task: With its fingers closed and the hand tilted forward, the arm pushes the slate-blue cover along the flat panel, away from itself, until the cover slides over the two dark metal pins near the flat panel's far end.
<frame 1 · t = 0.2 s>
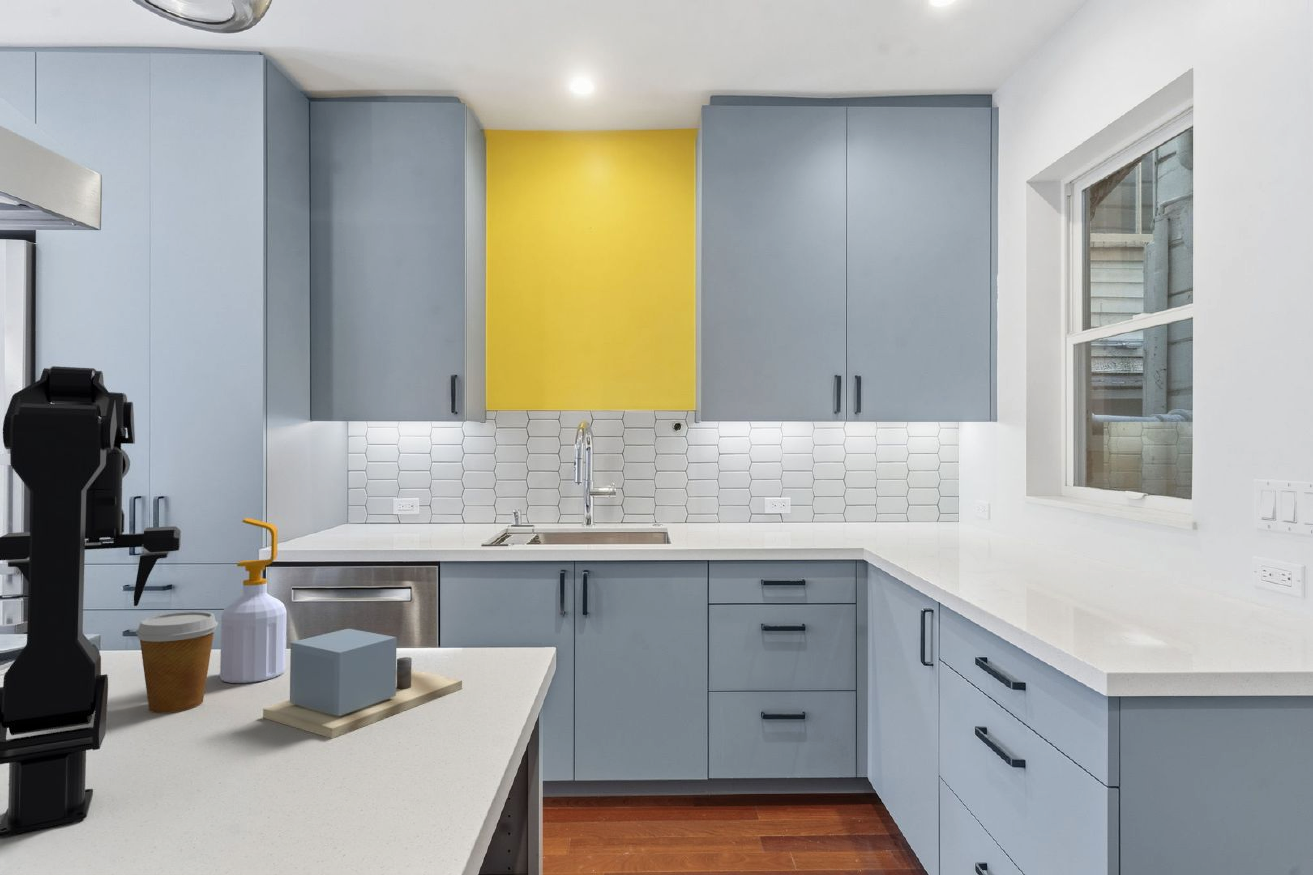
hand: (92, 609, 95), 15 cm above the countertop, tool pointing down, fingers open, 9 cm apart
flat panel: (368, 702, 103), on the countertop
soap bottle: (253, 676, 115), on the countertop
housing: (343, 669, 99), point 6 cm above the countertop, slide at 0.0 cm
disposable coffee cup: (176, 706, 101), on the countertop
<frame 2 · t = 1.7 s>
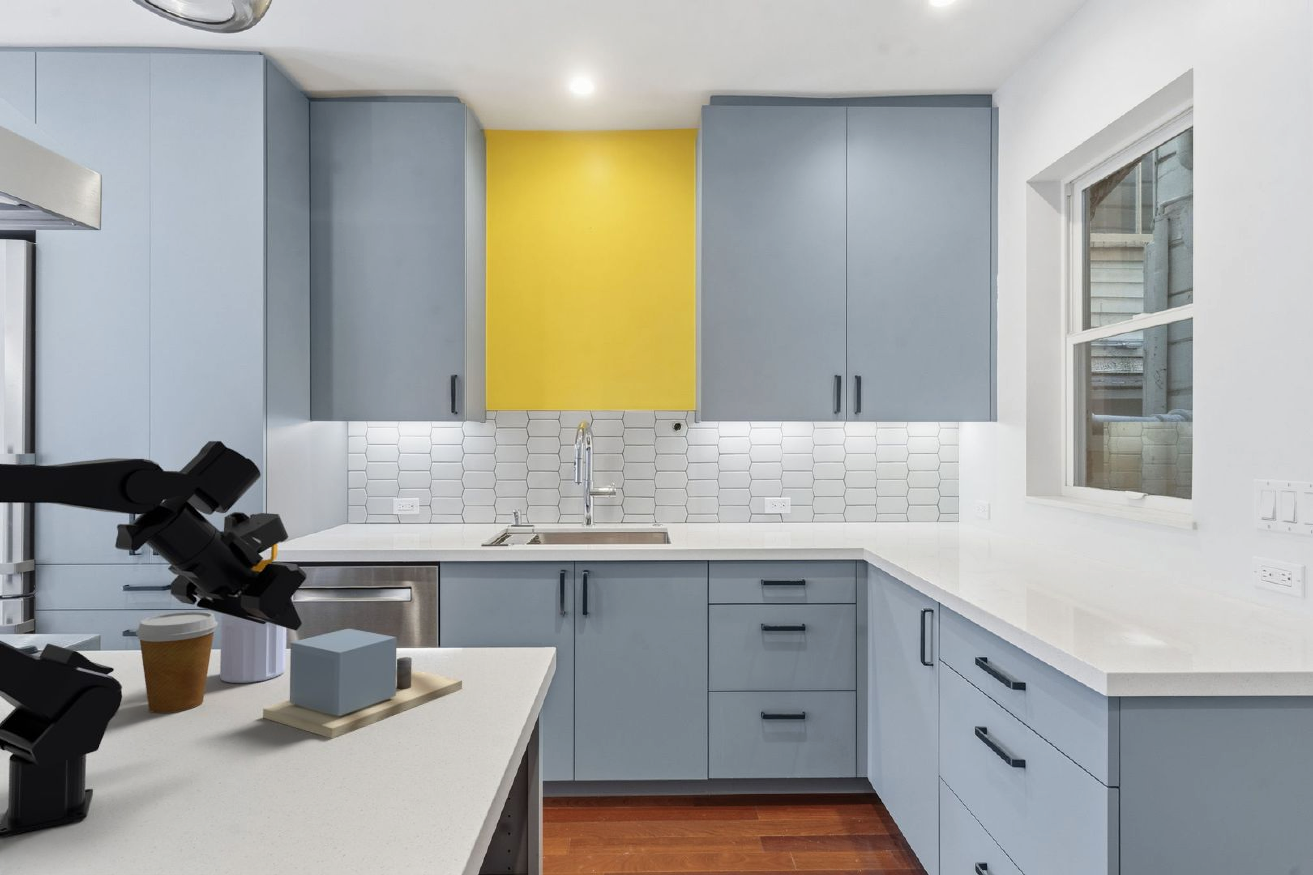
hand: (282, 623, 91), 14 cm above the countertop, tool tilted 45°, fingers open, 6 cm apart
nothing on the countertop moved.
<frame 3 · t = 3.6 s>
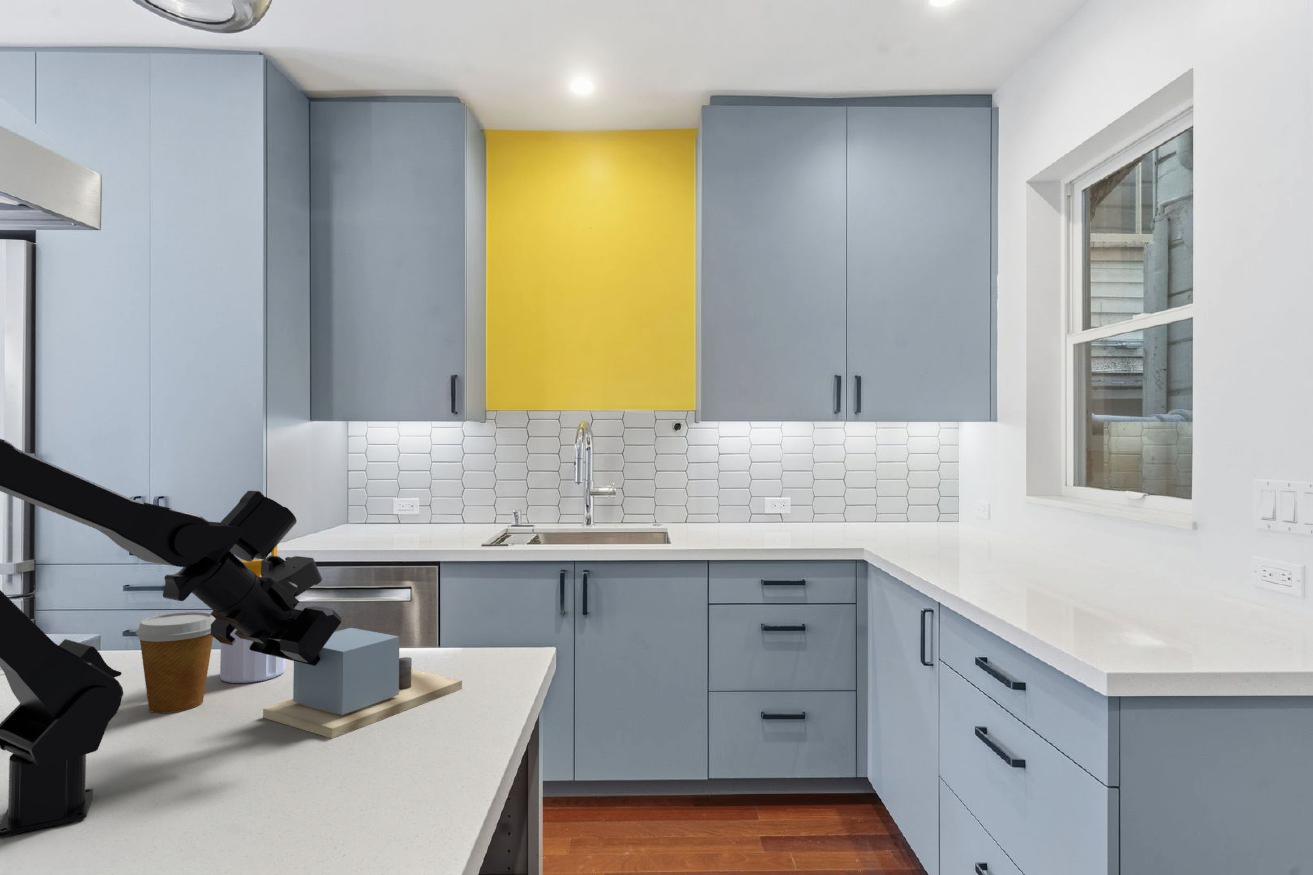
hand: (316, 662, 95), 8 cm above the countertop, tool tilted 45°, fingers closed, pressing on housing
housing: (347, 668, 100), point 6 cm above the countertop, slide at 0.5 cm, touching gripper
everything else where it was.
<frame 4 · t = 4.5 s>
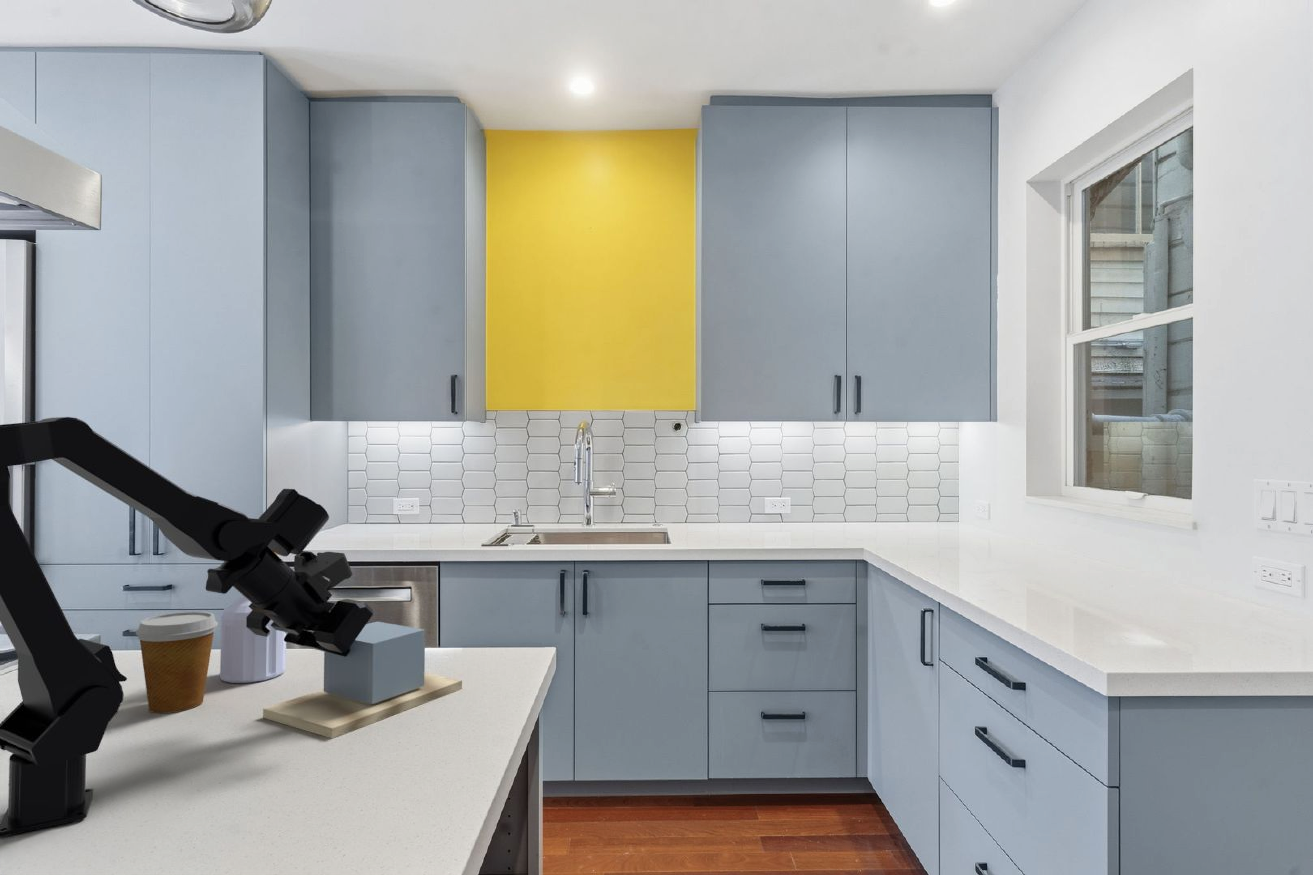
hand: (346, 653, 99), 8 cm above the countertop, tool tilted 45°, fingers closed, pressing on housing
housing: (375, 660, 104), point 6 cm above the countertop, slide at 5.1 cm, touching gripper
everything else where it was.
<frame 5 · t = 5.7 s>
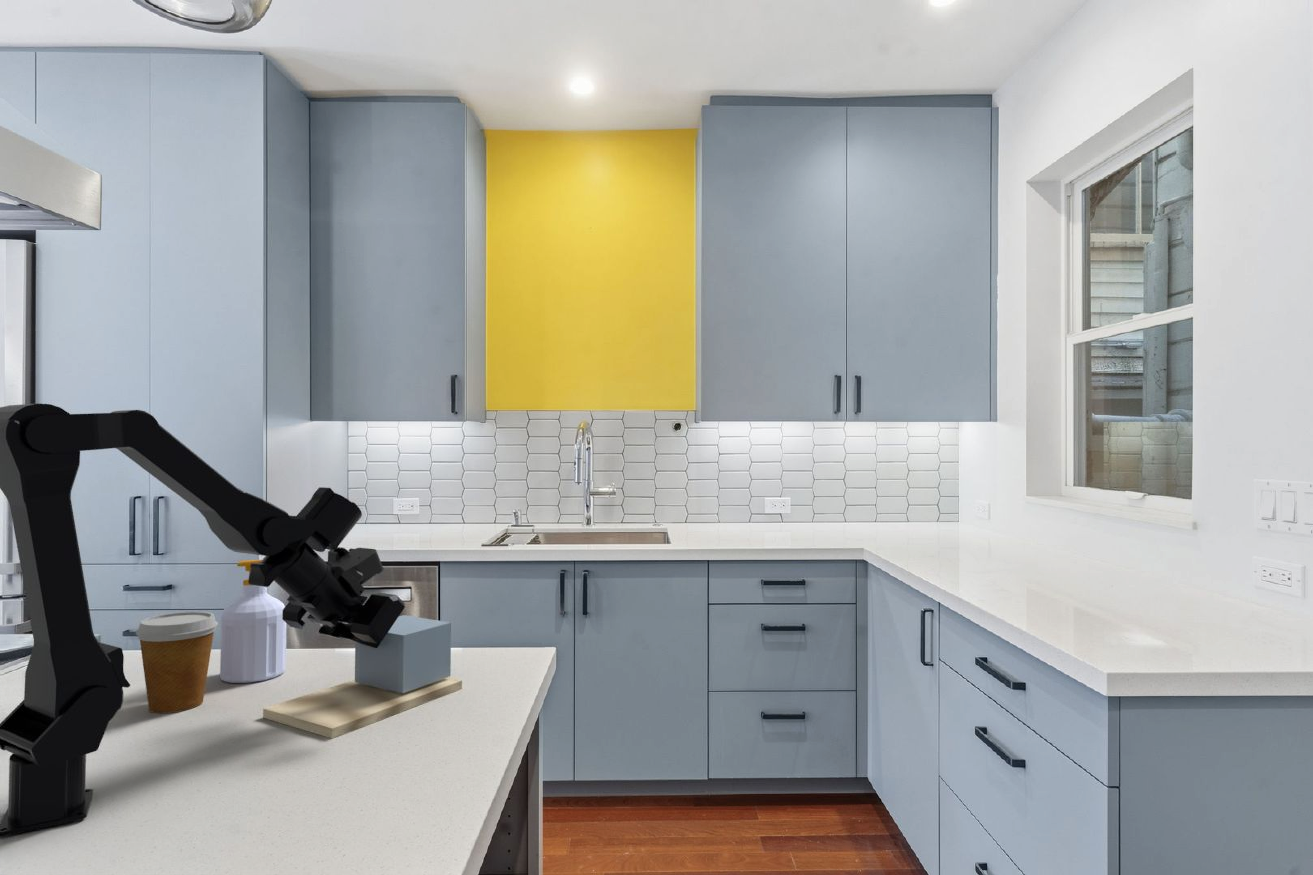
hand: (377, 644, 104), 8 cm above the countertop, tool tilted 45°, fingers closed
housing: (403, 651, 108), point 6 cm above the countertop, slide at 10.2 cm
everything else where it was.
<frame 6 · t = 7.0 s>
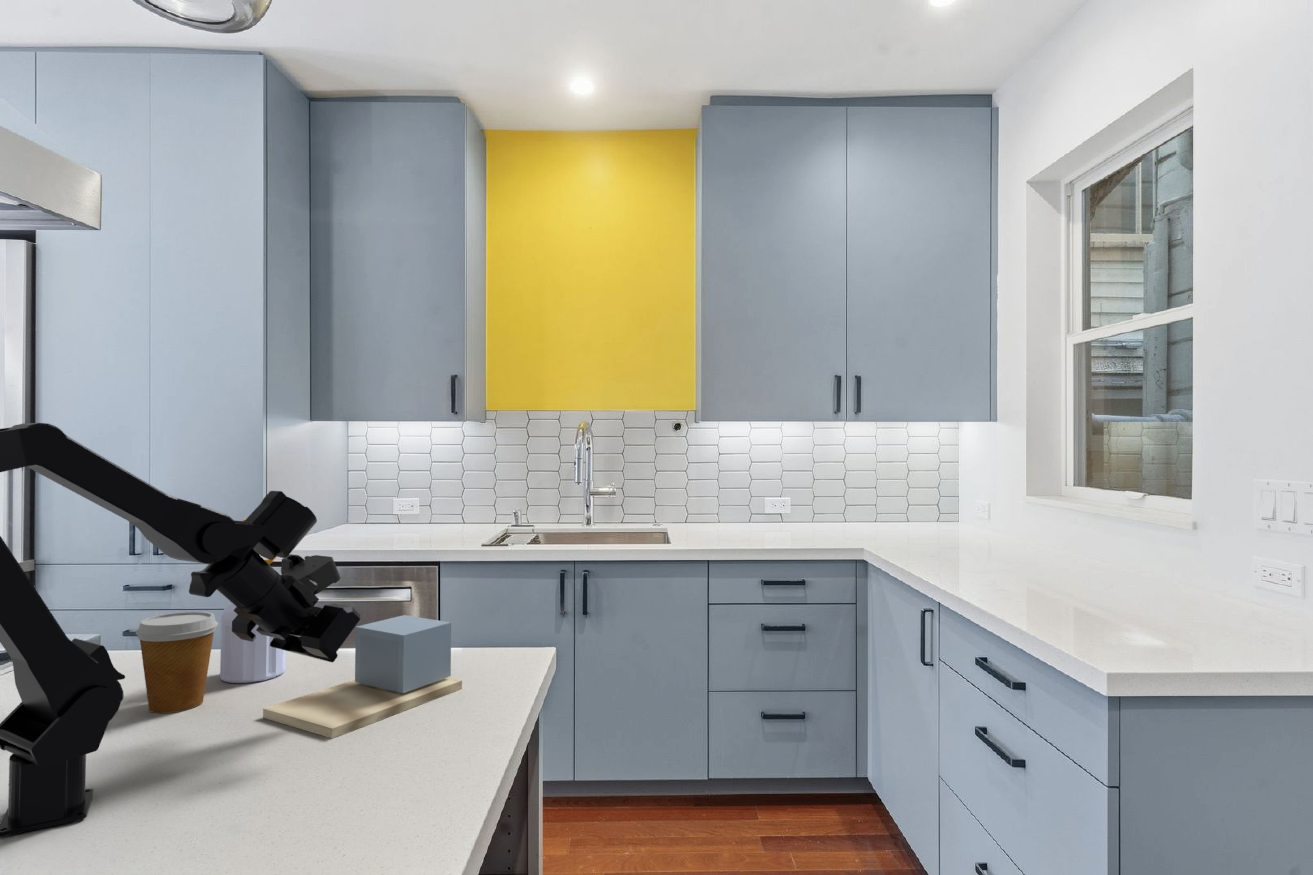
hand: (333, 658, 98), 7 cm above the countertop, tool tilted 45°, fingers closed
nothing on the countertop moved.
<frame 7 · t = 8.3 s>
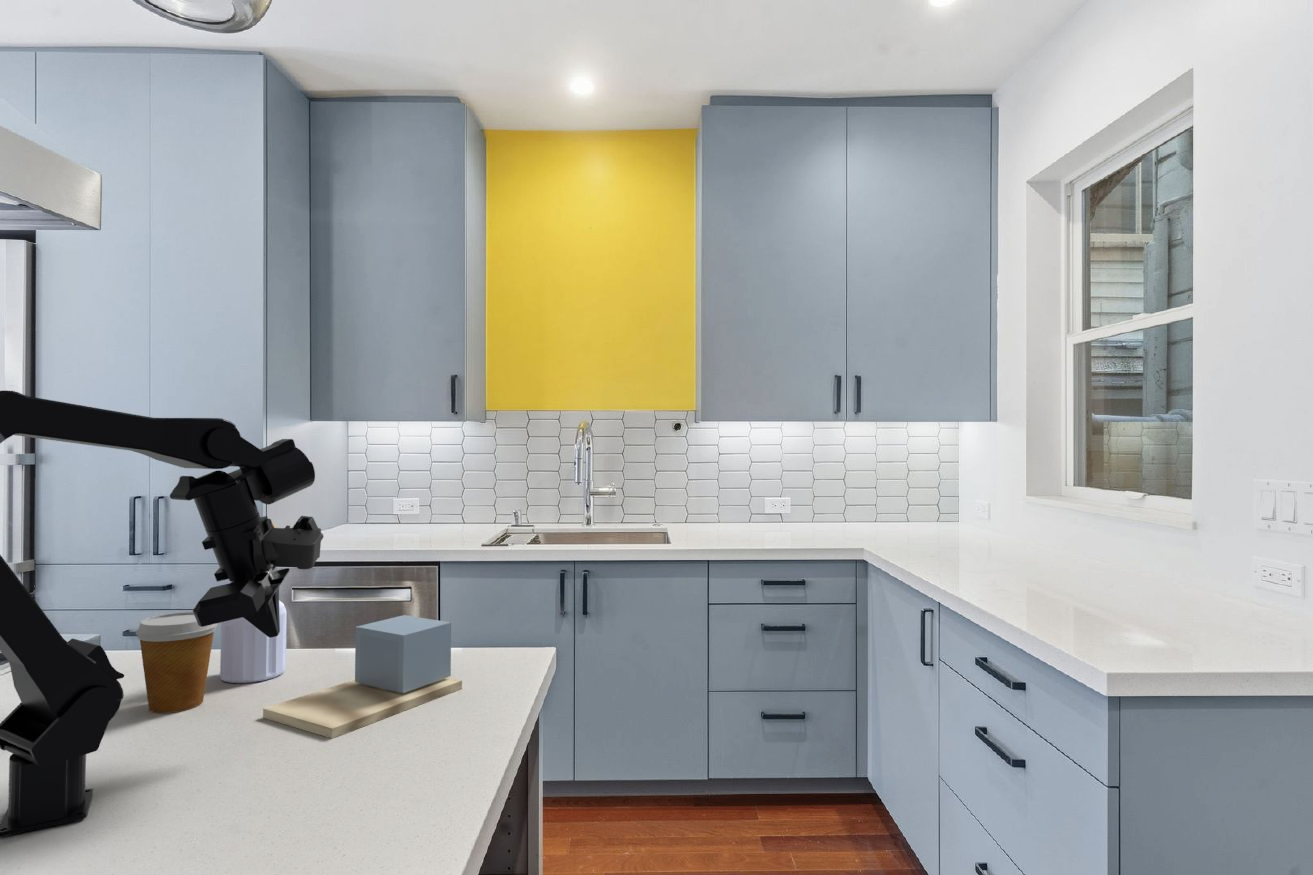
hand: (274, 635, 90), 12 cm above the countertop, tool tilted 20°, fingers closed
nothing on the countertop moved.
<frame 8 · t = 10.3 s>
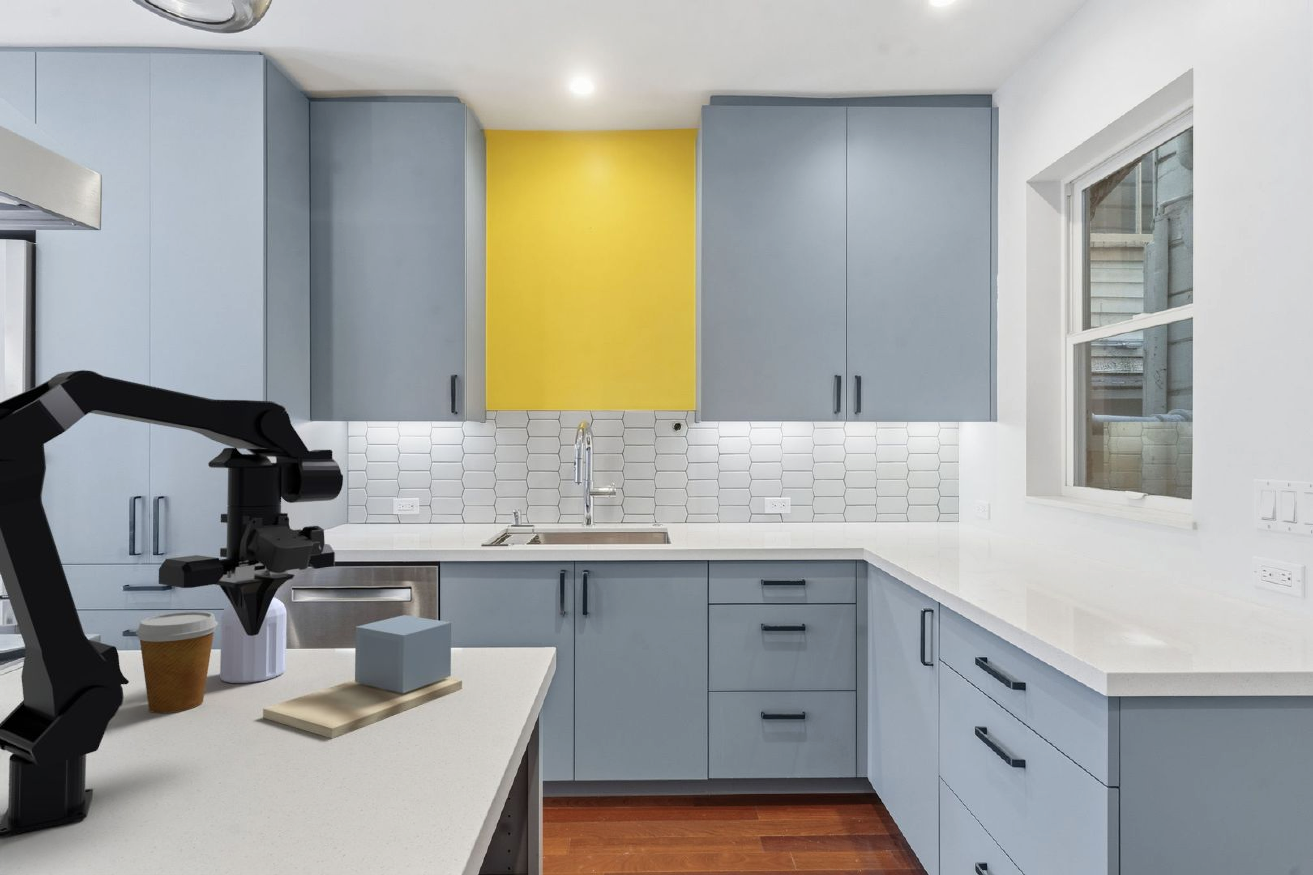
hand: (252, 634, 88), 13 cm above the countertop, tool pointing down, fingers closed
nothing on the countertop moved.
at the end: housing slide at 10.3 cm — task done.
